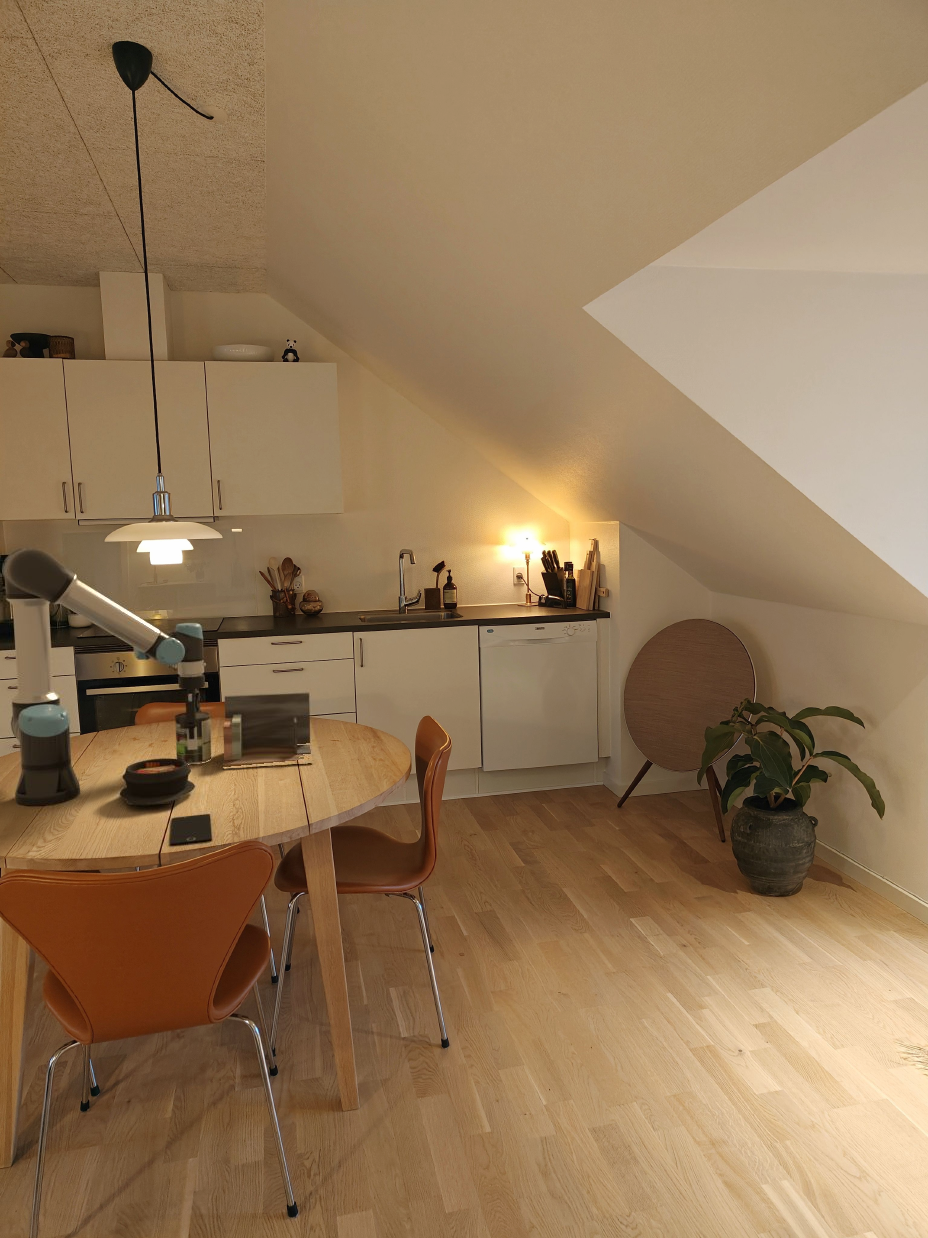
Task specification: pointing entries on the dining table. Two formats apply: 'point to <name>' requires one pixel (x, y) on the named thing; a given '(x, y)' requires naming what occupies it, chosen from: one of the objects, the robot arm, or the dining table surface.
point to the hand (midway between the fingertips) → (194, 743)
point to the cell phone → (190, 830)
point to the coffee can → (202, 739)
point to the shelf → (266, 728)
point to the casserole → (156, 781)
